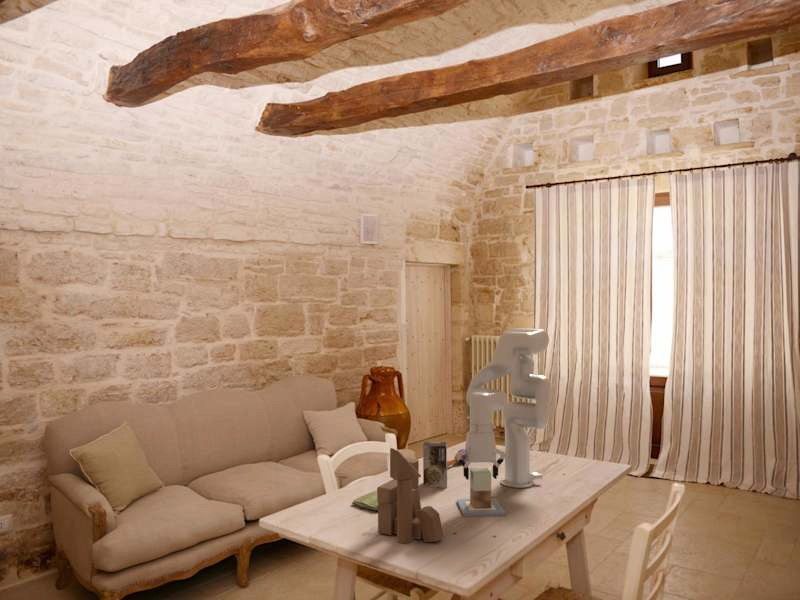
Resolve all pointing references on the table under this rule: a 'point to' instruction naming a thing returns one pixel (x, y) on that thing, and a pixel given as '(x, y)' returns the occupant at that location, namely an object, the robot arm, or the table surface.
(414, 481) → the wooden blocks
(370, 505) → the washcloth
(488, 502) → the walnut block
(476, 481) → the sage block
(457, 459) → the kendama
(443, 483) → the coffee box
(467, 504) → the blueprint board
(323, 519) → the table surface
